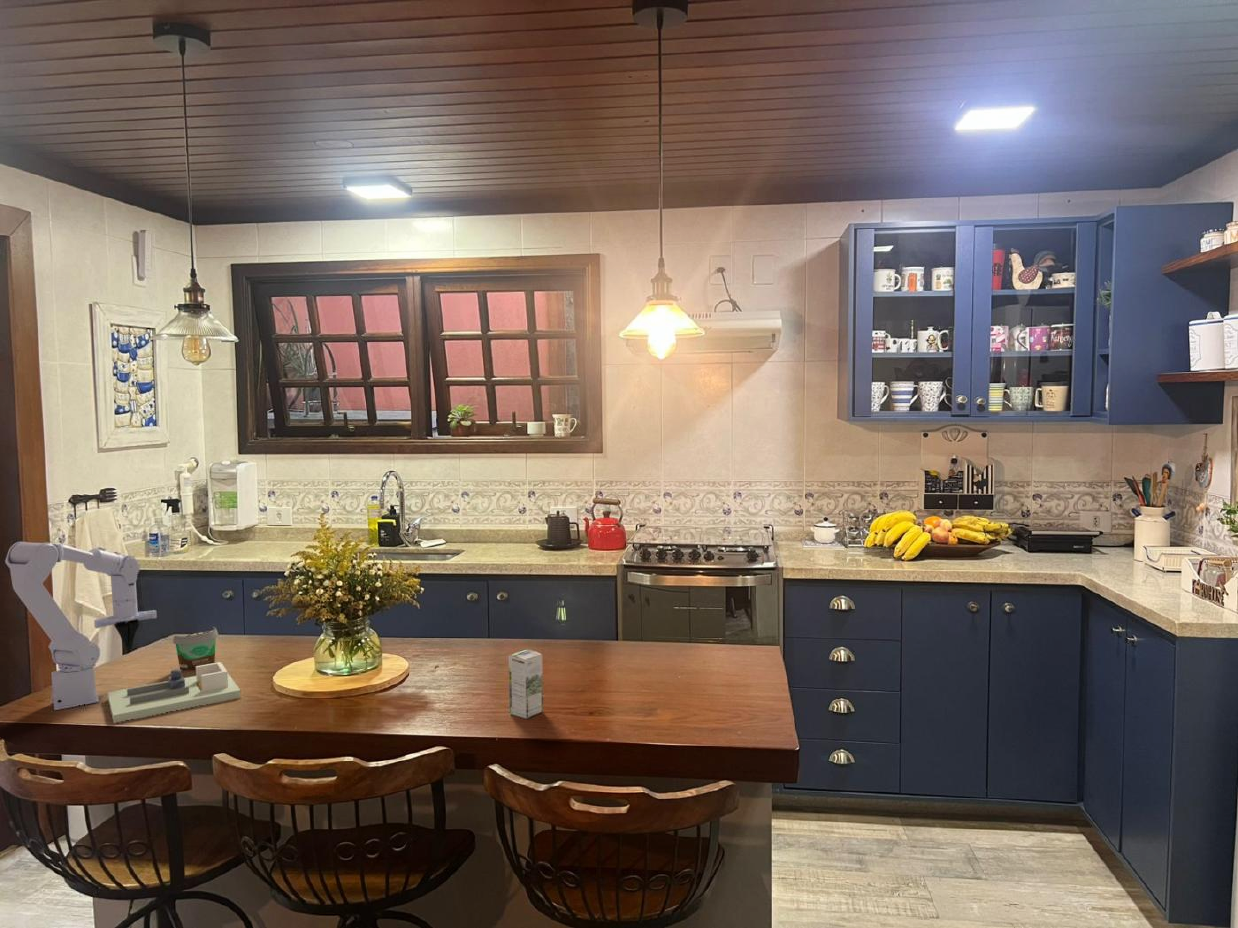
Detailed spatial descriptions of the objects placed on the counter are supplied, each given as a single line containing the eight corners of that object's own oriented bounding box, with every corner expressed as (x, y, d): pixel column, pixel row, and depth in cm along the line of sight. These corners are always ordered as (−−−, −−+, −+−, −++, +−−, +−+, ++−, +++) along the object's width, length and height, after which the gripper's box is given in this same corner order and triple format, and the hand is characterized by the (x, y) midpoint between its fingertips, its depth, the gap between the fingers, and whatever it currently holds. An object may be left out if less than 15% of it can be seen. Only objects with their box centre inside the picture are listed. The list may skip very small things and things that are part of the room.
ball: (199, 695, 219) (199, 682, 218) (197, 691, 222) (197, 678, 221) (214, 693, 221) (214, 679, 220) (212, 689, 224) (212, 676, 223)
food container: (185, 674, 236) (182, 639, 236) (174, 670, 240) (172, 636, 239) (228, 663, 246) (226, 629, 245) (217, 659, 250) (215, 626, 249)
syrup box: (526, 707, 205) (524, 648, 204) (544, 712, 201) (542, 652, 200) (509, 714, 201) (507, 654, 200) (527, 719, 197) (525, 658, 196)
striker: (172, 694, 214) (170, 674, 214) (169, 687, 219) (167, 668, 218) (185, 691, 216) (184, 672, 215) (182, 685, 221) (180, 666, 220)
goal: (202, 691, 216) (201, 676, 216) (196, 681, 224) (195, 666, 224) (228, 686, 219) (227, 671, 219) (221, 676, 228) (220, 661, 227)
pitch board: (113, 723, 201) (112, 708, 201) (107, 699, 217) (106, 686, 217) (240, 697, 217) (240, 683, 216) (226, 677, 233) (225, 664, 233)
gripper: (96, 606, 221) (100, 657, 222) (158, 597, 231) (161, 646, 232) (91, 602, 226) (95, 652, 227) (151, 593, 236) (155, 640, 237)
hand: (128, 648), depth 230 cm, fingers closed
